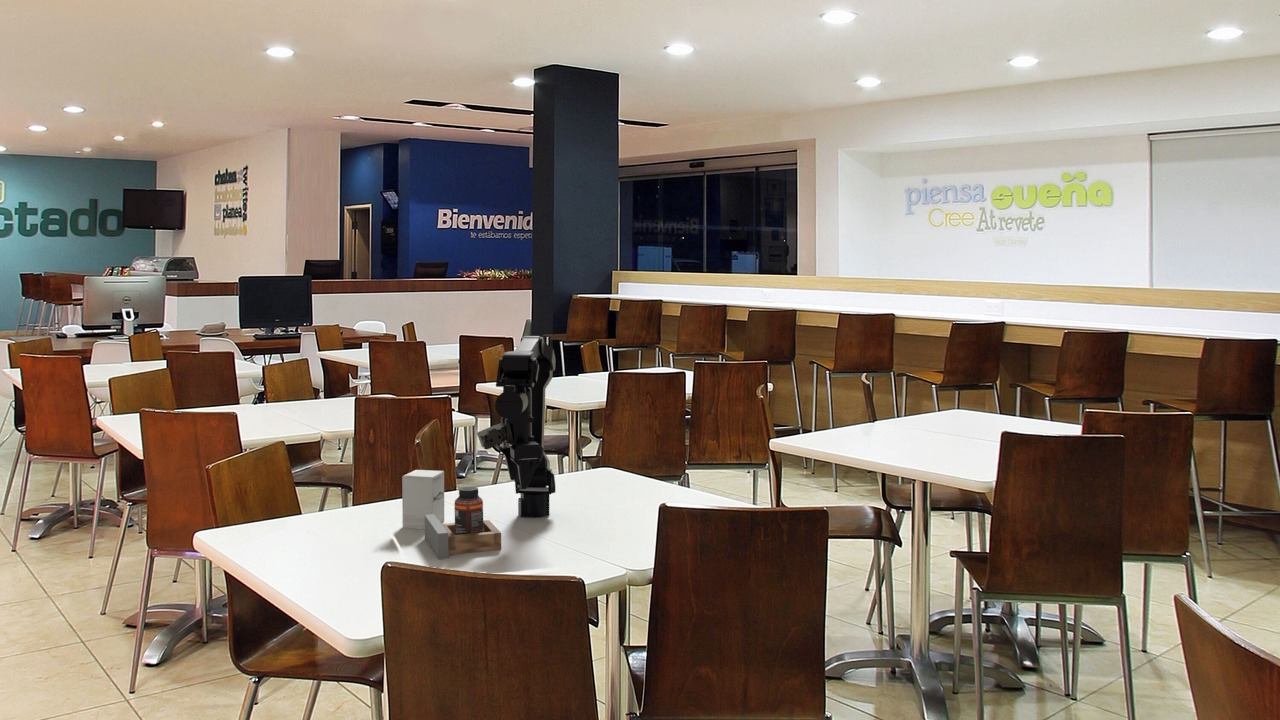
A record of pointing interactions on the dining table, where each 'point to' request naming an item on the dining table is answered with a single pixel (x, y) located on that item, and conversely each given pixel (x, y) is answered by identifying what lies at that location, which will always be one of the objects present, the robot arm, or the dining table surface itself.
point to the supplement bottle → (468, 511)
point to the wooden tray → (473, 539)
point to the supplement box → (422, 497)
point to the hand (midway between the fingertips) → (518, 484)
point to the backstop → (436, 536)
